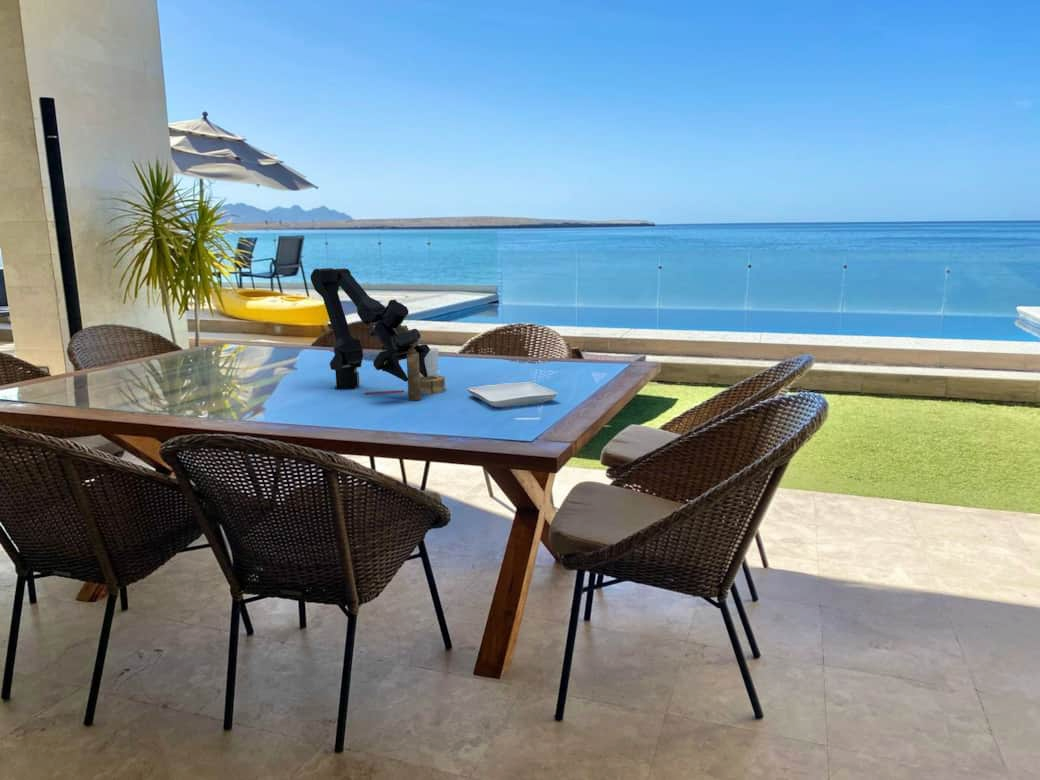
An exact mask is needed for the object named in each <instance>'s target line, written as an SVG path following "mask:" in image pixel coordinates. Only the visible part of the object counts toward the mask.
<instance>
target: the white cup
mask: <svg viewBox="0 0 1040 780" xmlns="http://www.w3.org/2000/svg"><path fill="white" fill-rule="evenodd" d="M429 348H430V351H429V353H428V354H427V355H426V357H425V358H424V360H425V366H426V370H427V374H428V375H439V372H438V371H439V348H437V347H429ZM420 375H422V374H421V373H420Z"/></svg>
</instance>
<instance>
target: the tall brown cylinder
mask: <svg viewBox="0 0 1040 780" xmlns="http://www.w3.org/2000/svg"><path fill="white" fill-rule="evenodd" d="M406 355H407V359H406V372H407V374H406V376H407V378H408V381H407V392H408V393H407V394H408V395H407V397H408V401H409V402H419V401H421V400H422V399H421V397H422V396H421V395H422V394H421V393H420V370H419V353H417V352H416V350H415V349H414V348H410V349H409V352H408V353H407V354H406Z"/></svg>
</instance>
